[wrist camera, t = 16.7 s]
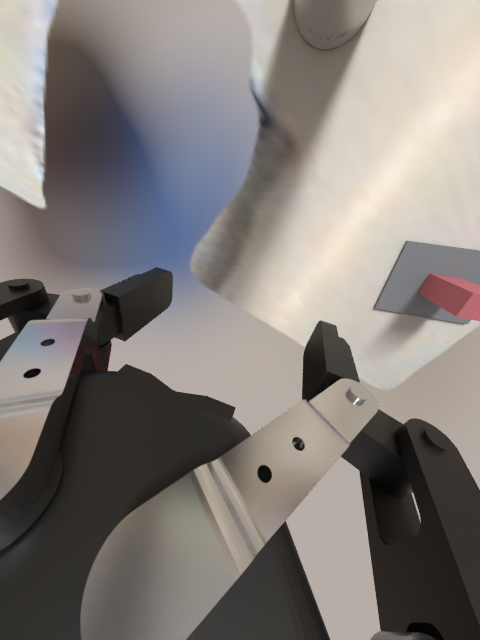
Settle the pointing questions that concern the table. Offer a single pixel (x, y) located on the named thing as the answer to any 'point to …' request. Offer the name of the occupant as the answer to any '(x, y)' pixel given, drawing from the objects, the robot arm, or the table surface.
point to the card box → (453, 295)
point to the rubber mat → (415, 270)
